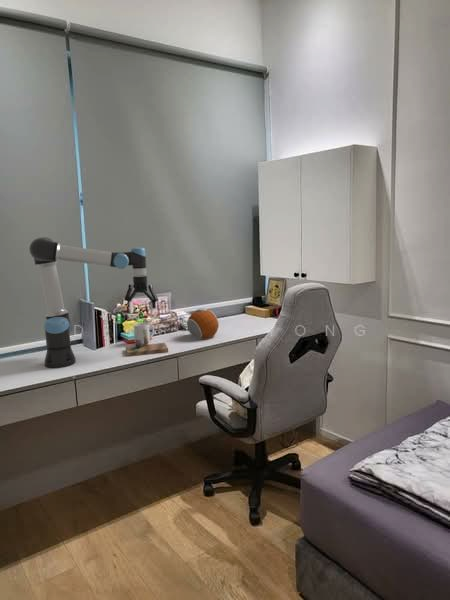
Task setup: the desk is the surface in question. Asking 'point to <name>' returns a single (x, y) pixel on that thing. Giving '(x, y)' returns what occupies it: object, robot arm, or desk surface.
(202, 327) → the orange ball
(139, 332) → the mug
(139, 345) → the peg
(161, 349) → the wooden board
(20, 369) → the desk surface
